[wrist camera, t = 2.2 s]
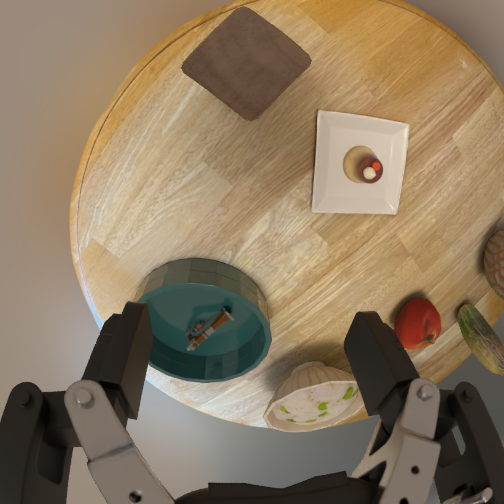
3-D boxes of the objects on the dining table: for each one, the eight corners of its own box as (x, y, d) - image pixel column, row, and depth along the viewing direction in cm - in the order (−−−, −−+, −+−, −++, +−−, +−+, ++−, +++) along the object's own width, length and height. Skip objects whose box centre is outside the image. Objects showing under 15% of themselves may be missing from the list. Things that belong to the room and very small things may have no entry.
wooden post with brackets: (178, 333, 40) (184, 349, 36) (217, 299, 41) (227, 312, 37) (185, 339, 41) (192, 356, 37) (224, 306, 42) (235, 320, 38)
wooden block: (265, 32, 23) (305, -44, 7) (296, 58, 24) (372, 12, 9) (208, 89, 26) (175, 67, 10) (240, 114, 27) (252, 125, 12)
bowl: (374, 352, 49) (393, 391, 40) (314, 402, 56) (323, 439, 48) (299, 326, 43) (313, 376, 34) (240, 387, 50) (242, 431, 42)
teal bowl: (125, 332, 42) (117, 357, 37) (157, 235, 34) (146, 258, 29) (232, 368, 47) (233, 393, 42) (291, 289, 39) (299, 315, 34)
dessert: (404, 123, 28) (427, 128, 24) (392, 211, 34) (410, 226, 30) (315, 109, 27) (329, 111, 23) (308, 209, 33) (320, 225, 29)
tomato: (411, 331, 47) (428, 360, 40) (377, 328, 45) (394, 361, 38) (436, 294, 43) (459, 322, 36) (404, 287, 41) (427, 318, 34)
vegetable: (459, 320, 48) (503, 385, 31) (443, 321, 47) (489, 392, 30) (473, 299, 45) (522, 363, 28) (457, 298, 44) (510, 369, 27)
